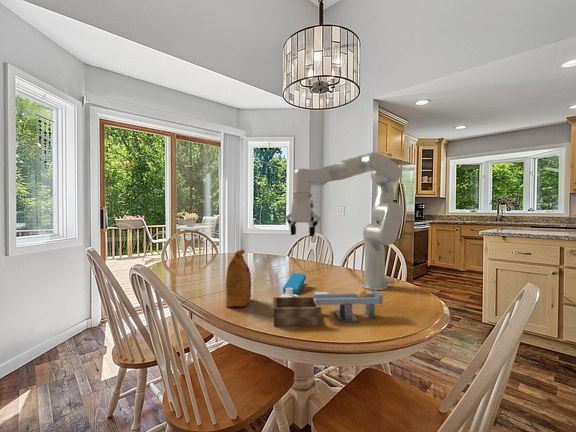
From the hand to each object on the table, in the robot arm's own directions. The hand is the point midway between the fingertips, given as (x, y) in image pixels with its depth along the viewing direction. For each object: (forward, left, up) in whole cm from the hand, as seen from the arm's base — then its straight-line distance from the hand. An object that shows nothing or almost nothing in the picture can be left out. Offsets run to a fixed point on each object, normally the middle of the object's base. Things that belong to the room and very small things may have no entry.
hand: (302, 235), depth 129 cm
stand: (-17, +25, -27) cm, 41 cm away
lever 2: (-14, +22, -22) cm, 34 cm away
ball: (-19, +25, -19) cm, 37 cm away
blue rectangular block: (+2, -12, -28) cm, 30 cm away
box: (+5, +26, -27) cm, 38 cm away
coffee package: (+27, +9, -28) cm, 40 cm away
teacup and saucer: (+9, +2, -28) cm, 29 cm away
